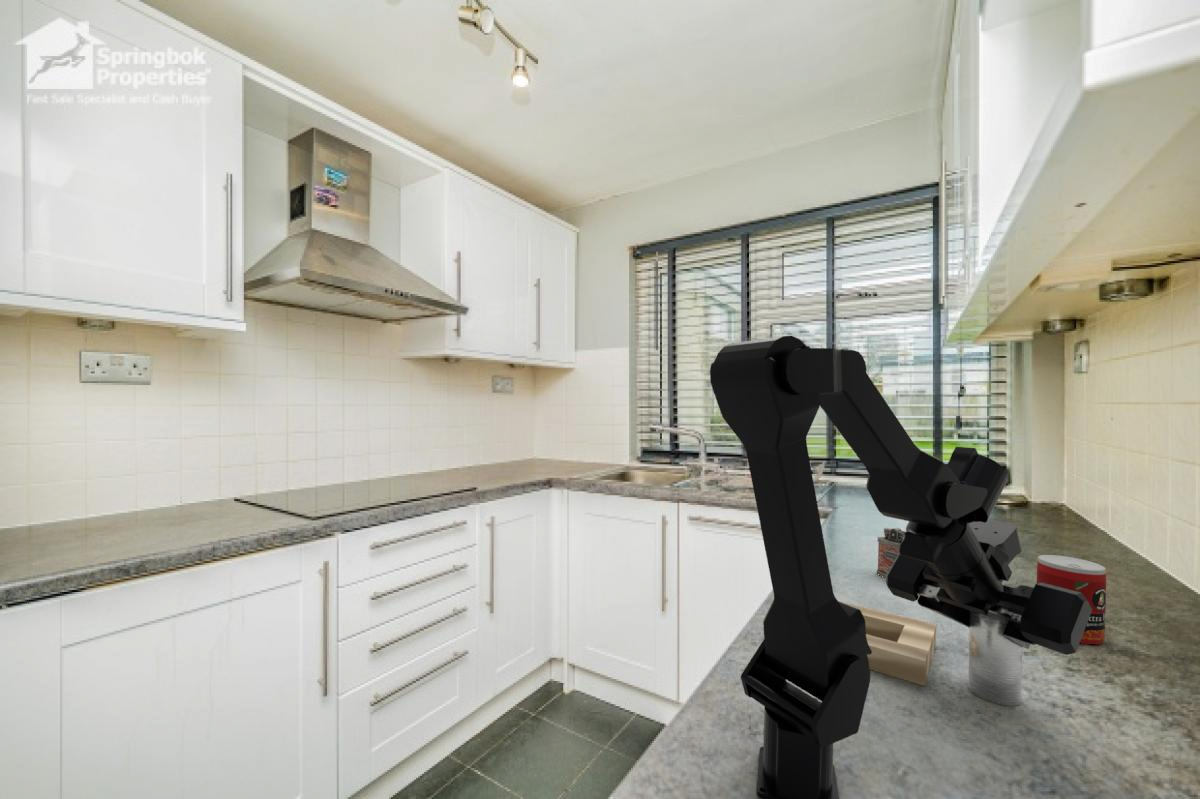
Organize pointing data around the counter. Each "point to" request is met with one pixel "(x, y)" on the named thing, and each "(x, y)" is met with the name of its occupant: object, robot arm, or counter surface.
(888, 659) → the tan square ring
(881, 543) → the lighter
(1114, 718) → the counter surface
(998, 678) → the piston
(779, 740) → the robot arm
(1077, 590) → the canned food
